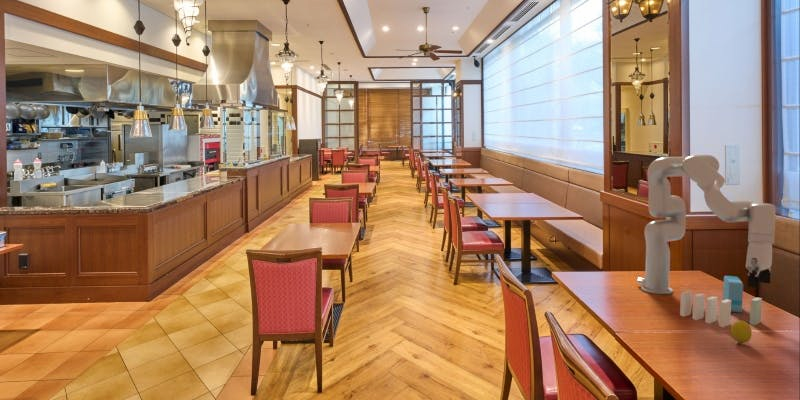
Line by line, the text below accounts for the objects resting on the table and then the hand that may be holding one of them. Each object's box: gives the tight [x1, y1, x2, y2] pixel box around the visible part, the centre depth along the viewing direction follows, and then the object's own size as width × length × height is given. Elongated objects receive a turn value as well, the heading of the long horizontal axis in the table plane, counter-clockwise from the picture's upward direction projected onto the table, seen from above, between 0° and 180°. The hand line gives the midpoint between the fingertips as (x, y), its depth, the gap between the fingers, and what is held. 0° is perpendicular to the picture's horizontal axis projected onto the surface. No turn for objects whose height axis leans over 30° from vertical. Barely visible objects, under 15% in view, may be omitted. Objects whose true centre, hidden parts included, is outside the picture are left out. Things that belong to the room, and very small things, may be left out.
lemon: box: [730, 319, 752, 345], centre depth 158 cm, size 6×6×8 cm
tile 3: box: [704, 295, 718, 324], centre depth 178 cm, size 2×5×9 cm, turn 124°
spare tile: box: [749, 297, 763, 326], centre depth 176 cm, size 2×5×9 cm, turn 124°
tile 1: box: [679, 290, 693, 318], centre depth 186 cm, size 2×5×9 cm, turn 124°
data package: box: [722, 275, 744, 314], centre depth 192 cm, size 12×4×12 cm, turn 155°
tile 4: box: [718, 299, 732, 328], centre depth 174 cm, size 2×5×9 cm, turn 124°
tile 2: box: [691, 292, 706, 321], centre depth 182 cm, size 2×5×9 cm, turn 124°
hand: (759, 284), depth 174 cm, fingers open, 9 cm apart
